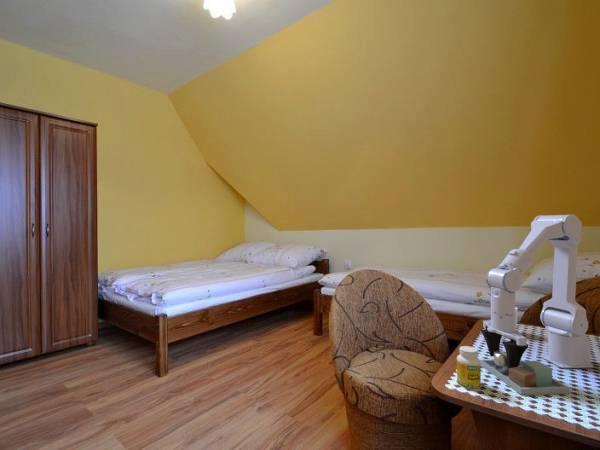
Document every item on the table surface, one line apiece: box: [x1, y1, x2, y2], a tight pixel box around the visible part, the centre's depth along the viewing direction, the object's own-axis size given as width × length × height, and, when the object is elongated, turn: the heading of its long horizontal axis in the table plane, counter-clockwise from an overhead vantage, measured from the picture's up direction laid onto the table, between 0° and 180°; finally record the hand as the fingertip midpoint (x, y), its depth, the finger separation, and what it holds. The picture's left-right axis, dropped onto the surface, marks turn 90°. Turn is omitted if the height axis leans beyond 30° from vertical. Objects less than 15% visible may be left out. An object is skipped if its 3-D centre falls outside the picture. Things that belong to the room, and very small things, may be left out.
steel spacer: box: [493, 350, 509, 375], centre depth 86 cm, size 4×4×5 cm
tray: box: [479, 359, 570, 396], centre depth 83 cm, size 12×16×2 cm
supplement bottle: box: [456, 345, 482, 391], centre depth 79 cm, size 5×5×10 cm
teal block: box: [521, 360, 553, 387], centre depth 80 cm, size 4×4×4 cm
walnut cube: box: [509, 366, 536, 388], centre depth 78 cm, size 4×4×4 cm
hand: (503, 361), depth 86 cm, fingers open, 7 cm apart
